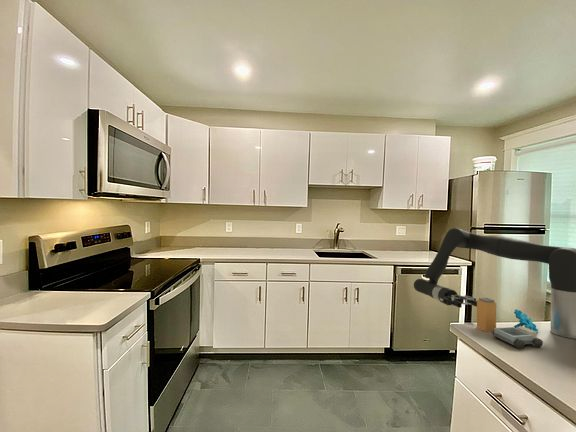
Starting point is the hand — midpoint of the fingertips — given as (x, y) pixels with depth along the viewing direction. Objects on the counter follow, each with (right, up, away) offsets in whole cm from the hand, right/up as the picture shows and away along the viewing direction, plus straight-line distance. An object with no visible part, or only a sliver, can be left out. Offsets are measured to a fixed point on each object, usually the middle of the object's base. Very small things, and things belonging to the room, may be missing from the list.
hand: (469, 305), depth 126 cm
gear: (+17, -8, -9) cm, 20 cm away
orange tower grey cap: (+1, -7, -9) cm, 11 cm away
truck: (+4, -7, -21) cm, 22 cm away
